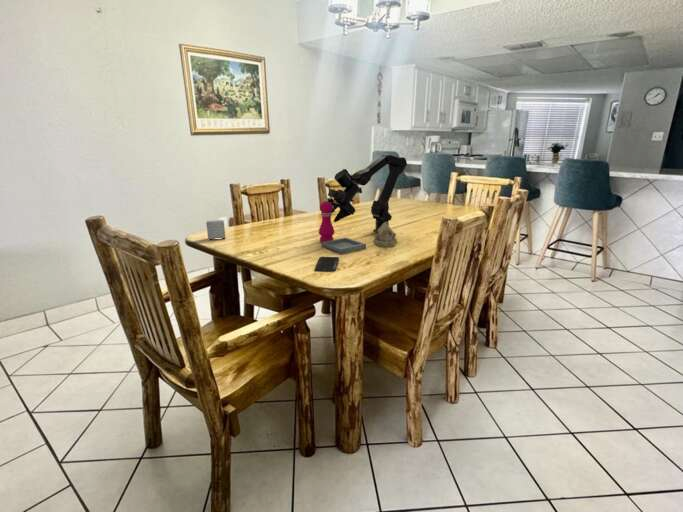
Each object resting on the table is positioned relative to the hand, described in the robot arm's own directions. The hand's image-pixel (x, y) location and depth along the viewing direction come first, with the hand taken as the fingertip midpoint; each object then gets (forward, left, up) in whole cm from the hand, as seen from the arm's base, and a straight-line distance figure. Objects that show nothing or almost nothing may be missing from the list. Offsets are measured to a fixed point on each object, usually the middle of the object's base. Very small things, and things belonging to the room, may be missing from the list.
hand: (328, 219), depth 168 cm
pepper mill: (0, -1, -10) cm, 10 cm away
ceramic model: (+19, +18, -10) cm, 28 cm away
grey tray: (+14, -2, -10) cm, 17 cm away
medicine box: (-36, -40, -10) cm, 55 cm away
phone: (+28, -21, -10) cm, 37 cm away
